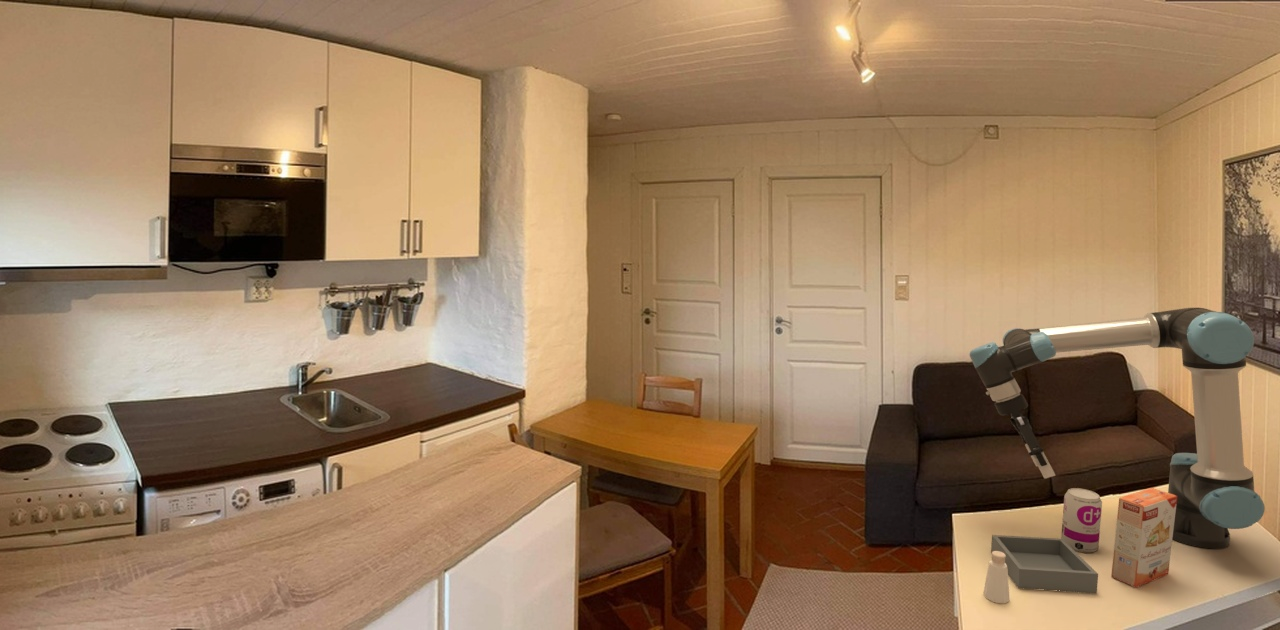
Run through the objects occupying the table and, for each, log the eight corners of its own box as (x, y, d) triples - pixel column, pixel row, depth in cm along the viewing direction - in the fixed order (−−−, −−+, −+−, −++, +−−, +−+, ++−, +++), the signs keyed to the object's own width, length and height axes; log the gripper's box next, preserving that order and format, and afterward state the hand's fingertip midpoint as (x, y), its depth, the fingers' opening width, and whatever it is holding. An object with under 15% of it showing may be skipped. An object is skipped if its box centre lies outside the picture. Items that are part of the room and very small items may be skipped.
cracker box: (1137, 589, 147) (1145, 506, 144) (1109, 577, 152) (1116, 496, 150) (1171, 575, 152) (1179, 495, 150) (1143, 563, 158) (1150, 485, 155)
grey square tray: (1060, 556, 162) (1062, 538, 162) (1096, 593, 146) (1098, 574, 145) (990, 552, 165) (991, 534, 164) (1018, 588, 149) (1019, 568, 148)
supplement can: (1104, 555, 163) (1109, 500, 161) (1069, 552, 164) (1073, 498, 162) (1088, 539, 170) (1092, 488, 168) (1055, 537, 172) (1059, 486, 170)
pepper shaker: (985, 588, 149) (987, 545, 148) (1011, 595, 146) (1014, 552, 144) (981, 598, 145) (983, 554, 143) (1007, 606, 141) (1010, 561, 140)
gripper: (989, 396, 183) (1024, 464, 180) (997, 409, 161) (1038, 486, 157) (1015, 387, 180) (1051, 456, 177) (1028, 398, 158) (1070, 477, 154)
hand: (1045, 470), depth 167 cm, fingers open, 13 cm apart
